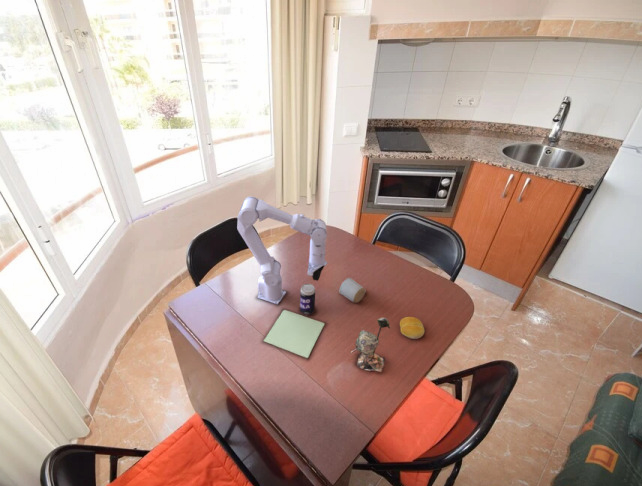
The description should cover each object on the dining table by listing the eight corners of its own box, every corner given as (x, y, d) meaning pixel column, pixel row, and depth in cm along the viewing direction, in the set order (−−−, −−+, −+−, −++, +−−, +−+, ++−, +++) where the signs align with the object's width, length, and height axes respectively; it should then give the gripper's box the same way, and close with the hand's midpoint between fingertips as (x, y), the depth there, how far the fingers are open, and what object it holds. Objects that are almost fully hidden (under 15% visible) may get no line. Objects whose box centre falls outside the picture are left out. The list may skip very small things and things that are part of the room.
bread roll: (401, 338, 115) (403, 331, 112) (398, 320, 122) (400, 312, 119) (425, 341, 113) (428, 334, 111) (421, 322, 120) (423, 315, 118)
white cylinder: (353, 307, 128) (356, 292, 123) (338, 296, 133) (339, 282, 129) (370, 295, 133) (372, 280, 129) (354, 285, 139) (356, 271, 134)
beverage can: (299, 306, 129) (299, 283, 122) (313, 305, 129) (314, 282, 123) (301, 316, 125) (301, 293, 118) (315, 315, 125) (316, 292, 118)
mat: (263, 341, 115) (263, 340, 115) (284, 310, 128) (283, 309, 127) (307, 358, 109) (307, 358, 109) (324, 323, 121) (324, 323, 121)
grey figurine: (356, 345, 113) (363, 304, 101) (388, 360, 107) (399, 319, 96) (346, 361, 107) (352, 320, 96) (379, 379, 102) (390, 337, 90)
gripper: (320, 264, 113) (319, 293, 121) (333, 243, 124) (331, 271, 131) (302, 259, 116) (301, 288, 123) (316, 239, 126) (315, 266, 134)
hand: (315, 279), depth 128 cm, fingers closed
